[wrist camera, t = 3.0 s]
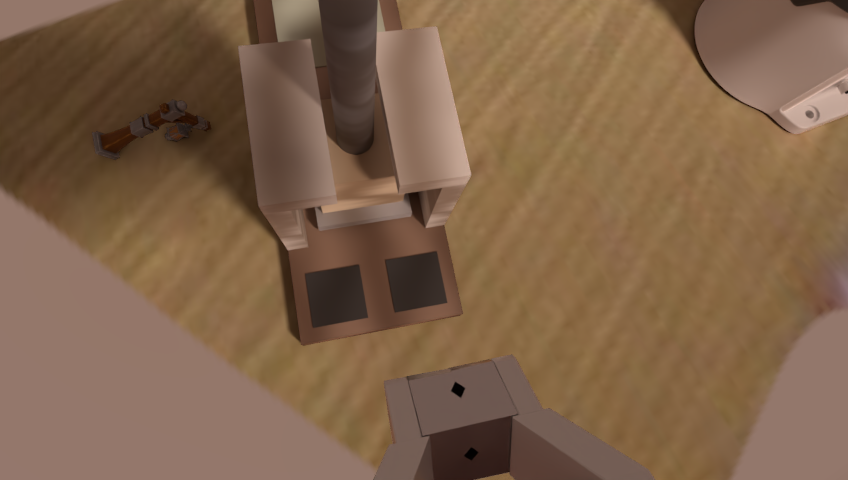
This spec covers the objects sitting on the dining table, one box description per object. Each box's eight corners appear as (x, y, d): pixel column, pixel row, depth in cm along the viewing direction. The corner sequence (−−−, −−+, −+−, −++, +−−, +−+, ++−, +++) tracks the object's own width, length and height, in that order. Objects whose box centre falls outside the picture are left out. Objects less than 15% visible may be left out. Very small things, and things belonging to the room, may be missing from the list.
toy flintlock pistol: (221, 131, 39) (179, 110, 35) (143, 168, 41) (93, 152, 37) (217, 111, 40) (174, 88, 36) (139, 149, 42) (89, 131, 37)
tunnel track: (388, -19, 46) (396, -149, 34) (459, 315, 39) (498, 293, 27) (254, -8, 44) (214, -142, 32) (303, 345, 37) (274, 335, 25)
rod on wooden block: (392, 122, 40) (413, -85, 22) (410, 216, 38) (451, 77, 20) (304, 134, 39) (248, -74, 21) (319, 230, 37) (272, 97, 19)
